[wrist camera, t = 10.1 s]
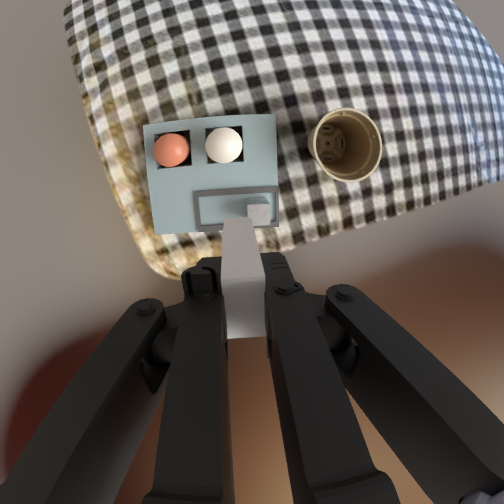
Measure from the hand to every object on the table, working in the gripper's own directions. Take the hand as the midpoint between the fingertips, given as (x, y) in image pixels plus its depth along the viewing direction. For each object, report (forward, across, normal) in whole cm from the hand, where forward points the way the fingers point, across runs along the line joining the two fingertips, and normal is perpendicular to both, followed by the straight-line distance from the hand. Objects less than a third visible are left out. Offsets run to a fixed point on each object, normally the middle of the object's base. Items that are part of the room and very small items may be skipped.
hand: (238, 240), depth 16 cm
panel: (+26, -3, 0) cm, 26 cm away
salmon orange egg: (+25, -8, +4) cm, 27 cm away
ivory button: (+23, -1, +4) cm, 23 cm away
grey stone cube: (+23, +3, -5) cm, 23 cm away
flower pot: (+26, +14, +4) cm, 30 cm away
